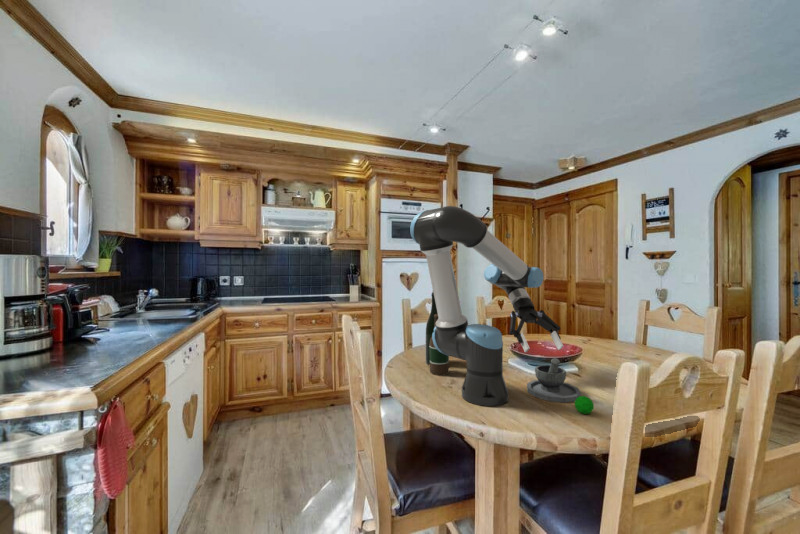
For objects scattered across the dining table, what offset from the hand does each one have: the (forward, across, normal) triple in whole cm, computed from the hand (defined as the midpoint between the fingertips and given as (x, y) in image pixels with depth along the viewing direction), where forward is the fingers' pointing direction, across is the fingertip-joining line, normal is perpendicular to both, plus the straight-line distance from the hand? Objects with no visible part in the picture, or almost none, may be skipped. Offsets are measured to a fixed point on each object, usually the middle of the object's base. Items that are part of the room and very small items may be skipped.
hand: (544, 349), depth 121 cm
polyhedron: (+25, +2, +6) cm, 26 cm away
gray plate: (+14, +1, -5) cm, 15 cm away
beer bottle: (-6, +32, -26) cm, 42 cm away
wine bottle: (-15, +29, -35) cm, 48 cm away
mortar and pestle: (+13, +1, -5) cm, 14 cm away
